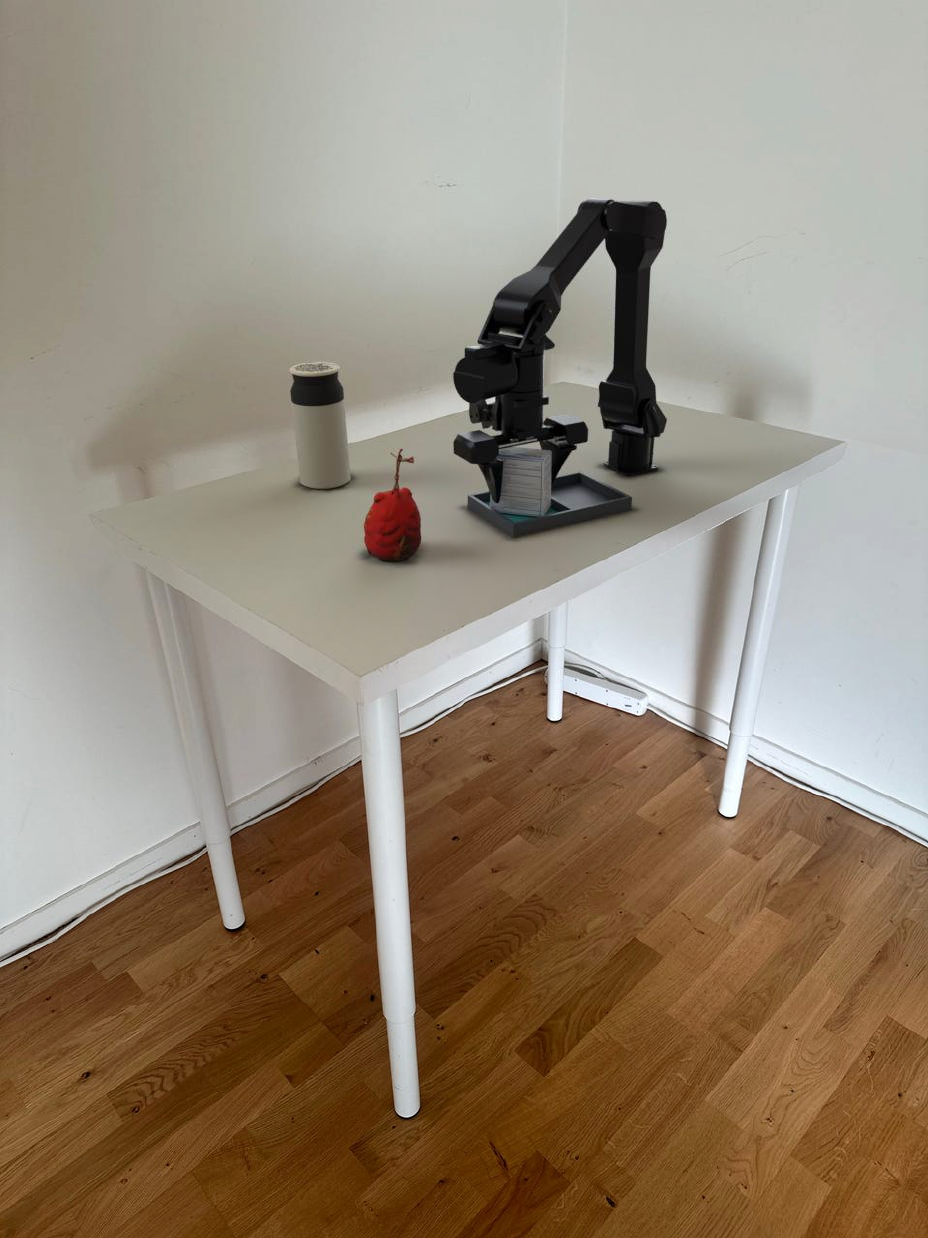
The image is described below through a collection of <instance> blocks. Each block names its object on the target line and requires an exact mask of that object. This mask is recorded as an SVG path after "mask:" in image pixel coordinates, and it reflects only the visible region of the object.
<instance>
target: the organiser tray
mask: <svg viewBox="0 0 928 1238" xmlns="http://www.w3.org/2000/svg"><path fill="white" fill-rule="evenodd" d="M632 506H633V496H631V495H630V494H627V493H625V492H623V491H621V490H619V489H617V488H615V487H613V486H611V485H609V484H607V483H605V482H603V481H601V480H600V479H597V478H595V477H593V476H591V475H589V474H587V473H585V472H583V471H582V470H578V471H574V472H570V473H566V474H560V475H557V477H556V478H555V480H554V482H553V484H552V486H551V506H550V508H549V509H548V511H547V512H546V514H545V515H544V516H541V517H535V516H526V515H517V514H508V513H499V512H498V511H496V510H494V509H493V508H491V494H490V491H489V490H485V491H481V492H480V491H479V492H475V493H471V494H468V495H467V509H469V510H470V511H472V512H473V513H474V514H476V515H478V516H479V517H481V518H482V519H483V520H485V521H486V522H488V523H490V524H492V525H493V526H494V527H495V528H498V529H499V530H500V531H502V532H503V533H504V534H506V535H508V536H509V537H511V538H512V539H517V538H520V537H524V536H528V535H532V534H537V533H540V532H544V531H549V530H553V529H557V528H561V527H566V526H569V525H570V526H571V525H574V524H578V523H583V522H586V521H591V520H595V519H599V518H604V517H607V516H612V515H616V514H619V513H620V514H621V513H624V512H628V511H632V509H633V508H632Z"/></svg>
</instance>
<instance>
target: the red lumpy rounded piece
mask: <svg viewBox="0 0 928 1238" xmlns="http://www.w3.org/2000/svg"><path fill="white" fill-rule="evenodd" d="M403 451H404V448H399V451H398V454H397V455H395V454H394V453H393V452H390V455H391V456H392V457H394V458H395V459H396V461H395V462H396V463H395V472H394V473H393V474H392V476H393V479H394V483H393V484H394V485H393V488H392V489H391V490H386V491H385V490H384V491H379V492H376V493H375V494H374V496H373V502H372V504H371V506H370V507H369V510H368V512H367V513H366V515H365V517H364V518H365V519H364V522H363V530H364V537H363V538H364V539H363V541H364V542H363V543H364V545H365V547H366V550H367V554H369V555H371V556H373V558H376V559H378V560H381V561H384V562H386V561H387V562H389V561H390V562H394V561H395V562H396V561H397V562H398V561H404V560H407V559H409V558H411V557H412V556H413V555H415V553H416V552H417V551H418V549H419V547H420V546H421V543H422V531H421V530H422V529H421V528H422V518H421V514H420V513H421V512H420V510H419V507H418V505H417V503H416V500H415V499H414V498H413V492H412V491H411V489H409V488H408V487H405V486H404V487H401V488H400V485H399V479H400V475H399V474H400V473H399V472H400V467H401V463H409V464H414V463H415V458H414V456H413V455H412V456H410V457H407V458H406V457H403V455H402V454H401V453H402V452H403Z"/></svg>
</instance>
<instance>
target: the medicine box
mask: <svg viewBox="0 0 928 1238" xmlns="http://www.w3.org/2000/svg"><path fill="white" fill-rule="evenodd" d="M497 458H498V459H500V460H502V461H503V462H504V464H503V476H502V489H501V497H500V501H499V503H495V502H494V501H493V499H492V496H491V508H493V509H494V510H496V511H498V512H499V513H508V514H517V515H526V516H535V517H541V516H544V515H545V514H546V512H547V511H548V509H549V508H550V506H551V465H552V451H550V450H542V449H541V448H540V449H539V448H529V447H520V446H514V447H509V448H504V449H499V455H498V456H497Z"/></svg>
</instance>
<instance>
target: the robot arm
mask: <svg viewBox="0 0 928 1238" xmlns="http://www.w3.org/2000/svg"><path fill="white" fill-rule="evenodd" d="M667 218H668V217H667V212H666V209H664V208H663V207H662V205H661V204H660V202H658V201H653V200H630V199H629V200H628V199H617V200H615V199H611V198H594V197H590V198H587V199H585V200H583V201H582V202H580V204H579V205H578V207H577V211H576V214H575V215H574V216H573V218H572V219H571V220H570V222H569V223H568V224H567V225H566V227H565V228H564V229H563V230H562V231H561V233H560V234H559V235H558V237H557V238H556V239H555V241H554V242H553V243H552V245H551V246H549V248H548V249H547V250H546V252H545V253H544V254H543V255H542V257H541V258H540V259H539V260H538V261H537V263H536V264H535V265H534V266H533V267H532V268H531V269H530V270H528V271H526V272H524V273H522V274H520V275H518V276H516V277H514V278H512V279H511V280H509V282H508V283H507V284H506V285H504V286H503V287H502V288H501V289H500V290H499V291H498V293H496V295H495V297H494V299H493V302H492V306H491V308H490V311H489V313H488V315H487V317H486V320H485V322H484V324H483V326H482V329H481V331H480V333H479V336H478V338H477V345H470V346H465V348H464V357H462V358H461V359H459V361H458V362H457V363H456V366H455V368H454V371H453V374H452V379H453V385H454V388H455V390H456V392H457V394H458V395H459V397H460V398H461V399H462V400H463V401H464V402H466V403H468V416H469V421H470V423H471V424H473V425H475V424H481V429H482V430H480V429H477V430H472V431H467V432H460V433H457V434H456V436H455V438H454V440H453V443H452V444H453V445H452V447H453V454H454V455H455V456H457V457H459V458H460V459H462V460H464V461H465V462H468V463H469V464H471V465H477V466H478V468H479V469H480V472H481V473H482V475H483V479H484V480H485V483H486V486H487V488H488V491H490V494H491V496H492V499H493V501H494V502H495V503H499V501H500V497H501V489H502V476H503V464H504V462H503V461H502V460H500V459H498V458H497V456H498V455H499V449H504V448H509V447H520V446H523V445H524V446H525V445H528V444H535V443H539V446H540V449H541V450H550V451H552V465H551V486H552V484H553V482H554V480H555V478H556V477H557V476H559V473H560V471H561V469H562V467H563V466H564V464H565V463H566V462H567V460H568V458H569V456H570V455H571V454H572V452H574V451H576V450H577V449H578V445H580V444H585V443H587V442H588V441H589V428H588V425H587V423H586V422H585V421H584V420H582V419H579V418H577V417H574V416H573V415H570V414H568V413H563V414H558V415H554V416H547V417H545V419H544V406H547V405H549V403H550V397H549V396H547V395H545V394H544V389H545V388H544V385H545V351H549V350H553V349H554V348H556V347H555V346H556V343H555V342H554V341H553V340H552V339H550V338H549V337H548V336H547V333H548V332H549V331H550V329H551V328H552V326H553V324H554V322H555V321H556V319H557V318H558V315H559V314H560V312H561V310H562V296H563V294H564V292H565V291H566V289H567V288H568V287H569V285H570V284H571V283H572V281H573V280H574V279H575V278H576V276H577V275H578V273H580V271H581V270H582V269H583V267H584V266H585V265H586V263H587V262H588V261H589V260H590V258H591V257H592V256H593V254H594V253H595V252H596V250H597V249H598V248H599V246H600V245H601V244H602V243H603V241H604V247H605V251H606V253H607V255H608V257H609V259H610V261H611V262H612V265H613V267H614V270H615V278H614V279H615V281H614V310H613V311H614V315H613V346H612V347H613V348H612V349H613V351H612V352H613V353H612V369H611V370H610V372H609V374H608V376H606V378H605V380H601V381H599V384H598V402H597V408H599V414H600V416H601V421H602V426H603V427H602V428H603V429H604V430H609V431H610V430H611V438H610V441H609V442H608V443H609V444H608V456H607V457H608V460H607V461H604V462H603V466H604V467H606V468H609V469H611V470H612V471H614V472H617V473H619V474H621V475H623V476H624V477H631V476H635V475H640V474H645V473H649V472H654V471H658V470H659V465H656V464H654V463H653V461H654V460H653V459H654V448H655V438H660V437H661V435H662V434H663V433H664V432H665V430H666V425H667V421H668V418H667V417H666V415H665V414H664V412H663V410H662V409H661V407H660V405H658V403H657V389H656V388H657V387H656V383H655V382H654V380H653V378H652V376H651V373H650V372H649V370H648V368H647V354H648V336H649V335H648V333H649V331H648V330H649V314H650V313H649V311H650V309H649V308H650V291H651V290H650V289H651V270H652V266H653V264H654V263H655V262H656V259H657V258H658V256H659V254H660V253H661V251H662V249H663V248H664V242H665V234H666V230H667V226H668V225H667V223H668V219H667ZM500 332H502V333H500ZM493 398H494V403H487V400H489V399H493ZM490 427H491V429H492V430H493V431H495V432H500V434H496V435H490V434H488V433H487V432H484V431H483V430H485V429H490Z"/></svg>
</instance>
